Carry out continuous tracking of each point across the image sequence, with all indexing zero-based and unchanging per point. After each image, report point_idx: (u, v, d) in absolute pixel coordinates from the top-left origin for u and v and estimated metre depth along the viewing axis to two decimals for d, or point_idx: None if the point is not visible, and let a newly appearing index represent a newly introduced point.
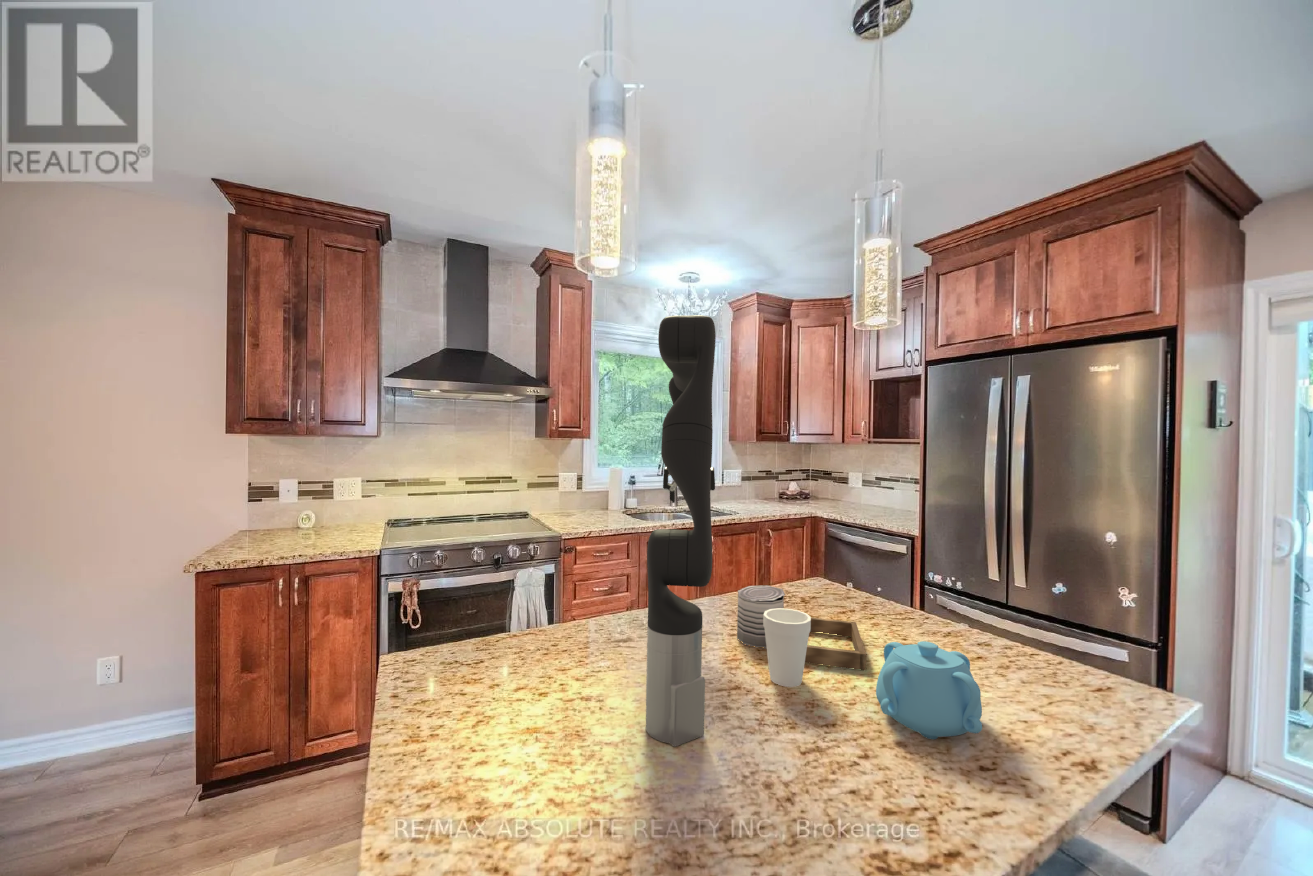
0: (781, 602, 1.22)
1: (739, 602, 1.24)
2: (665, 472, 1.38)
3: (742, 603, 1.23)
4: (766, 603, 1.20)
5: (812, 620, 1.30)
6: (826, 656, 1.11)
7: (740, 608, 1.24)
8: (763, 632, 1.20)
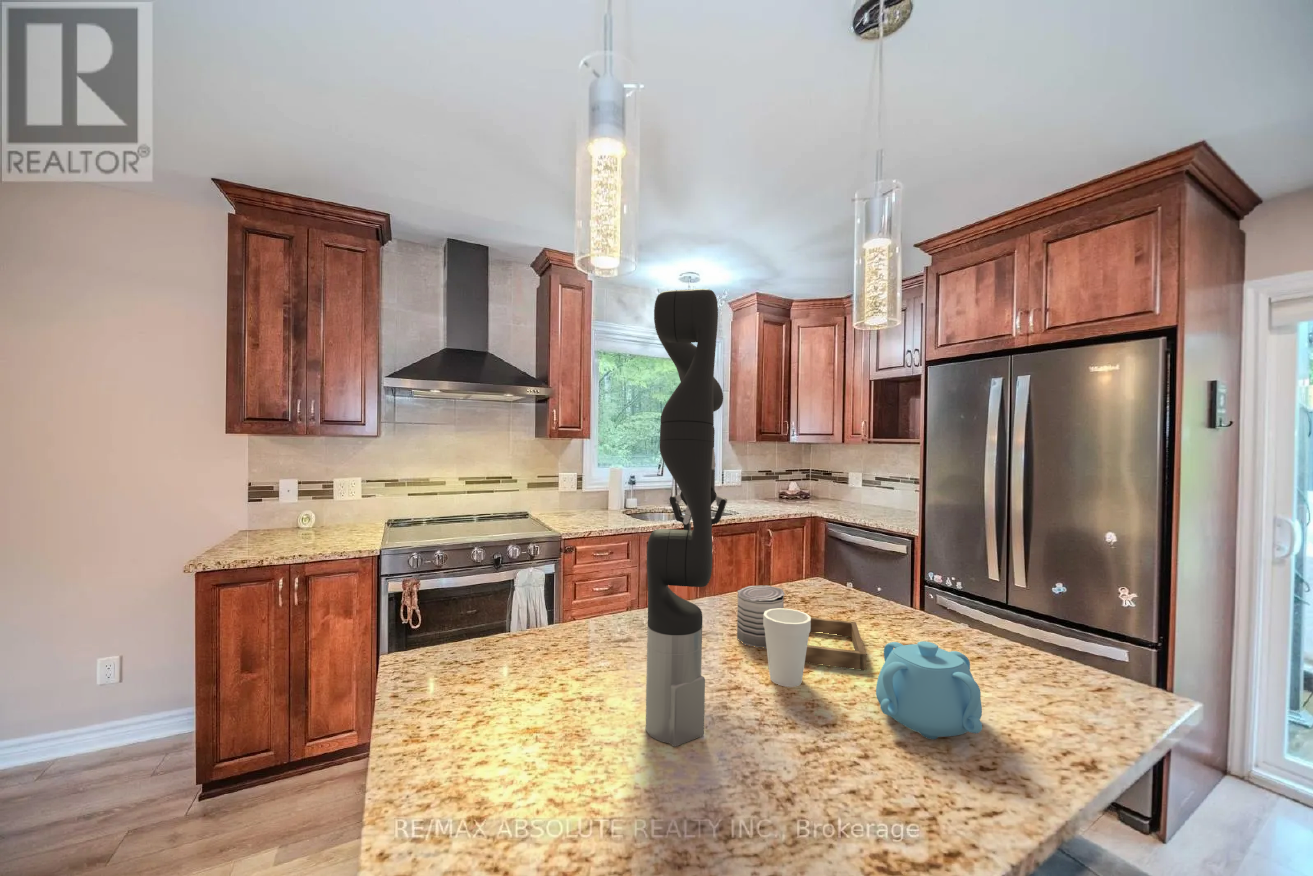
0: (781, 602, 1.22)
1: (739, 602, 1.24)
2: (671, 500, 1.20)
3: (742, 603, 1.23)
4: (766, 603, 1.20)
5: (812, 620, 1.30)
6: (826, 656, 1.11)
7: (740, 608, 1.24)
8: (763, 632, 1.20)
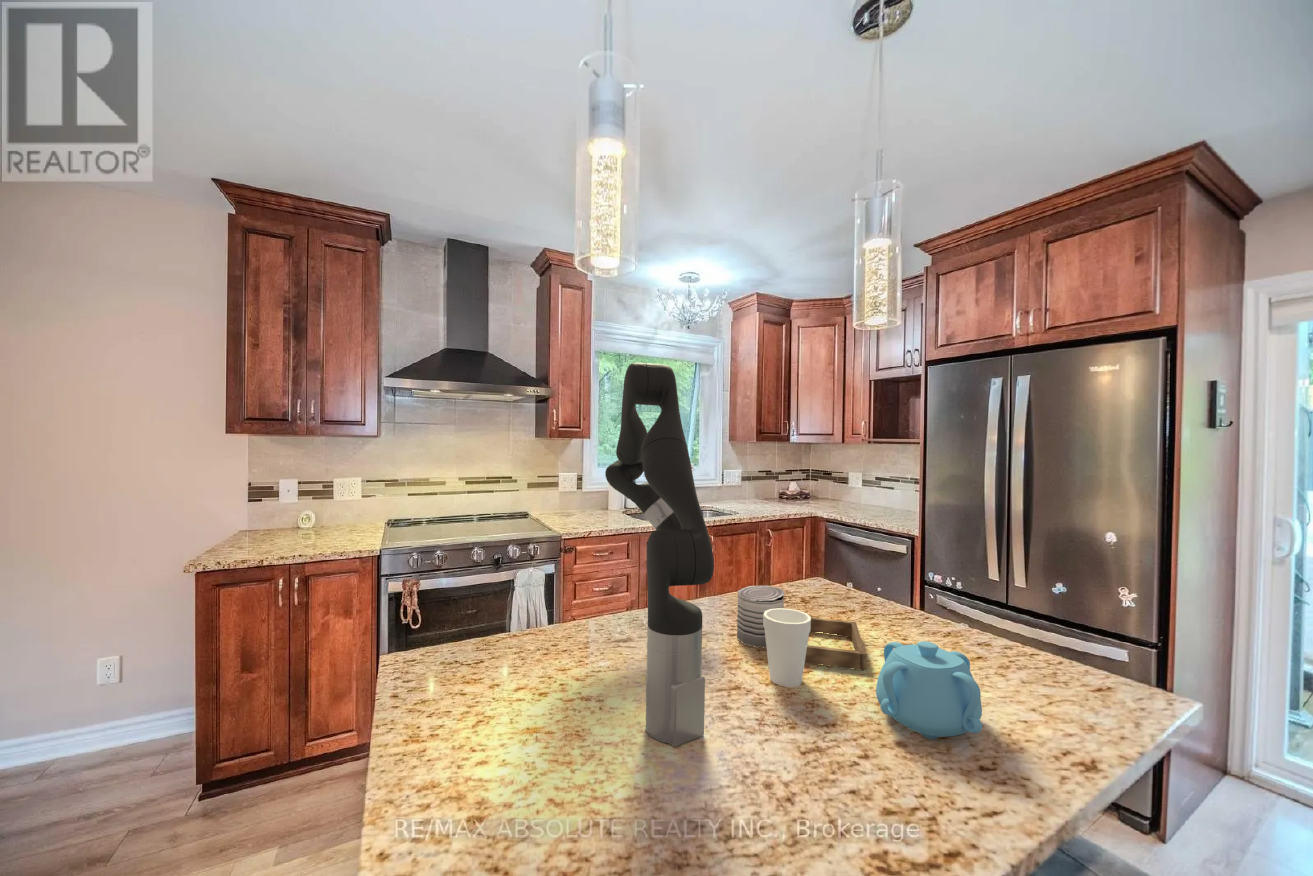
0: (781, 602, 1.22)
1: (739, 602, 1.24)
2: None
3: (742, 603, 1.23)
4: (766, 603, 1.20)
5: (812, 620, 1.30)
6: (826, 656, 1.11)
7: (740, 608, 1.24)
8: (763, 632, 1.20)
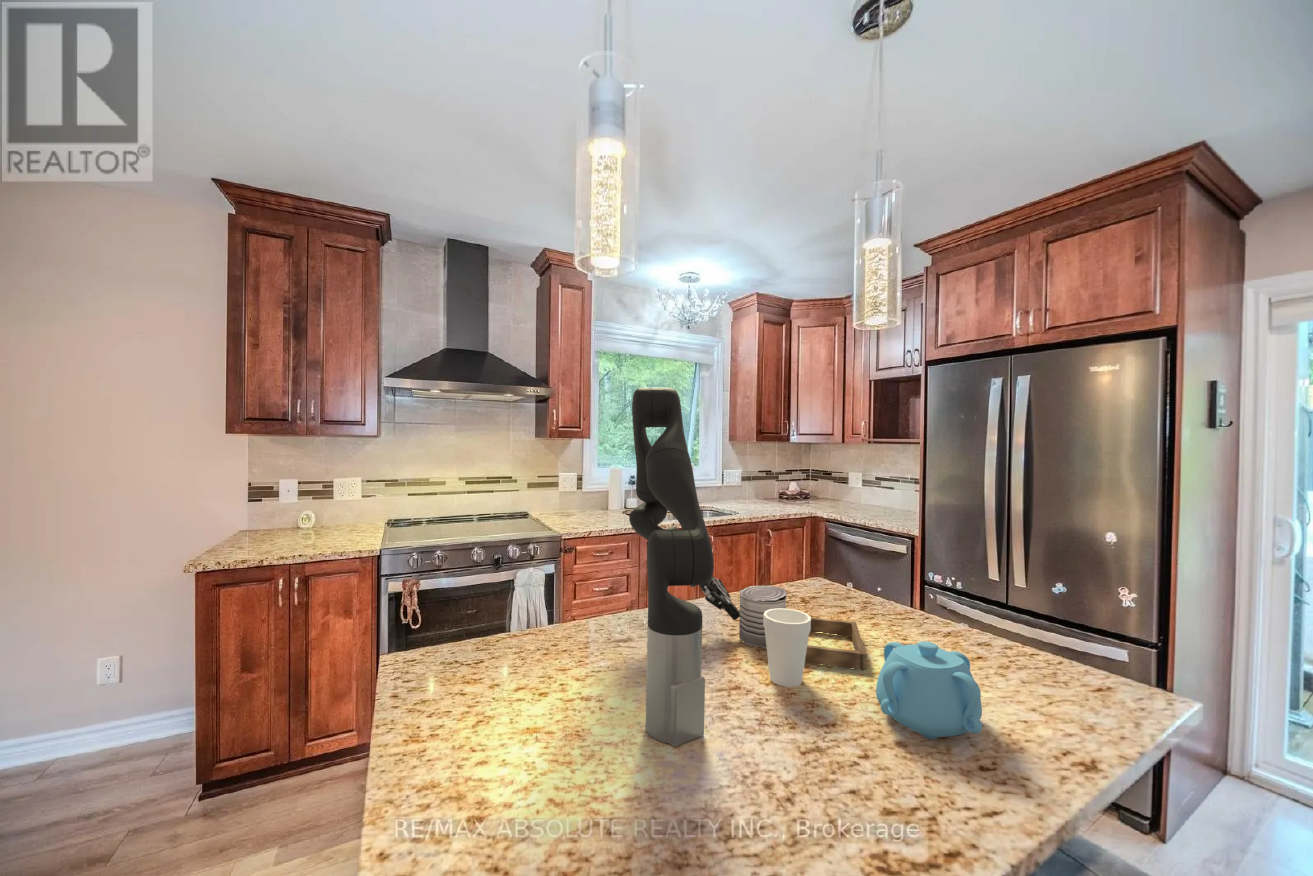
0: (783, 602, 1.22)
1: (741, 602, 1.24)
2: (715, 593, 1.23)
3: (744, 603, 1.23)
4: (768, 603, 1.20)
5: (812, 620, 1.30)
6: (826, 656, 1.11)
7: (743, 608, 1.23)
8: None
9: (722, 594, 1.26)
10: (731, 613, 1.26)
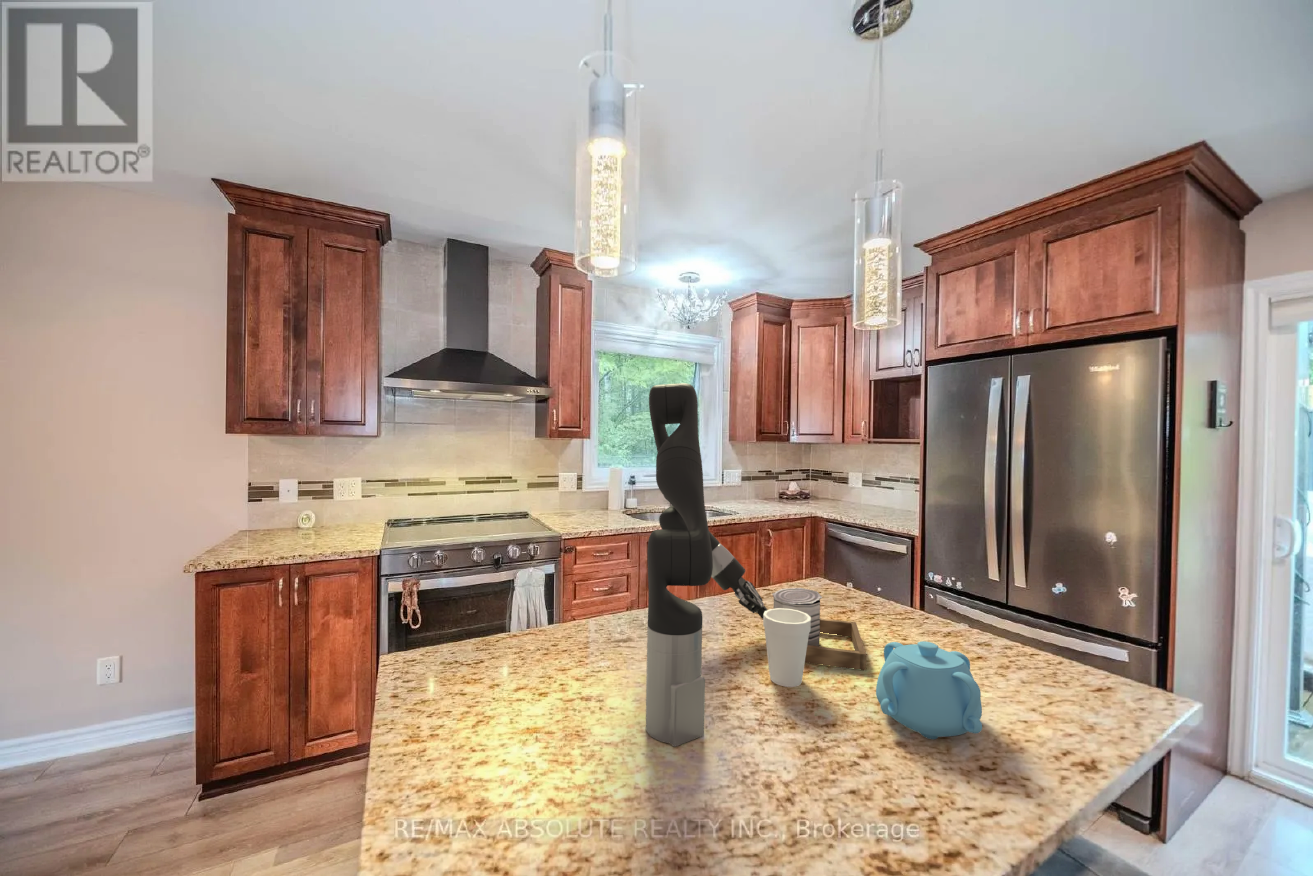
0: (819, 605, 1.20)
1: (775, 606, 1.22)
2: (748, 597, 1.21)
3: (779, 607, 1.20)
4: (805, 606, 1.18)
5: None
6: (826, 656, 1.11)
7: None
8: None
9: (755, 597, 1.24)
10: None
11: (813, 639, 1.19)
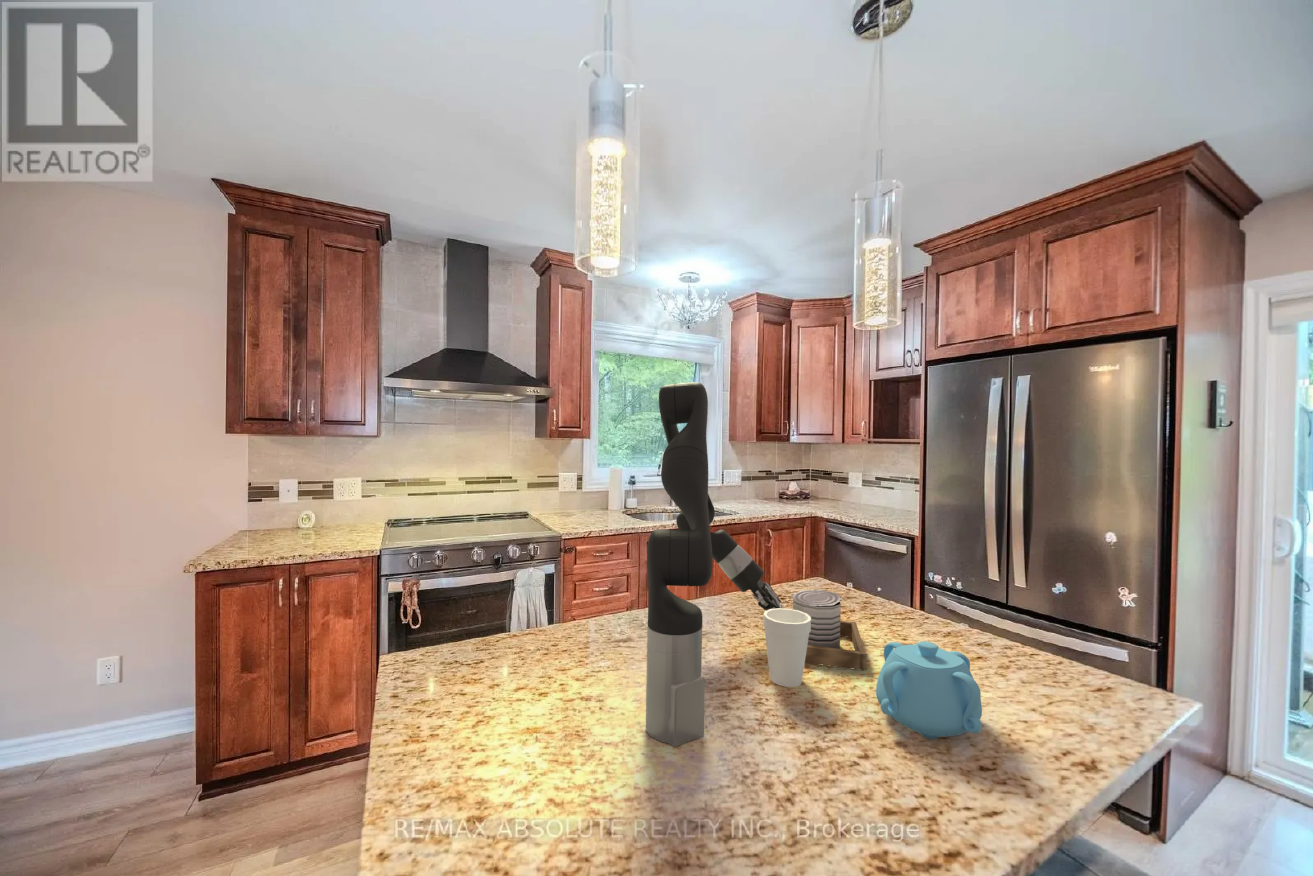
0: (839, 607, 1.19)
1: (795, 608, 1.21)
2: (768, 599, 1.19)
3: (800, 609, 1.19)
4: (826, 608, 1.17)
5: None
6: (826, 656, 1.11)
7: None
8: (823, 638, 1.17)
9: (774, 599, 1.23)
10: None
11: (834, 642, 1.17)
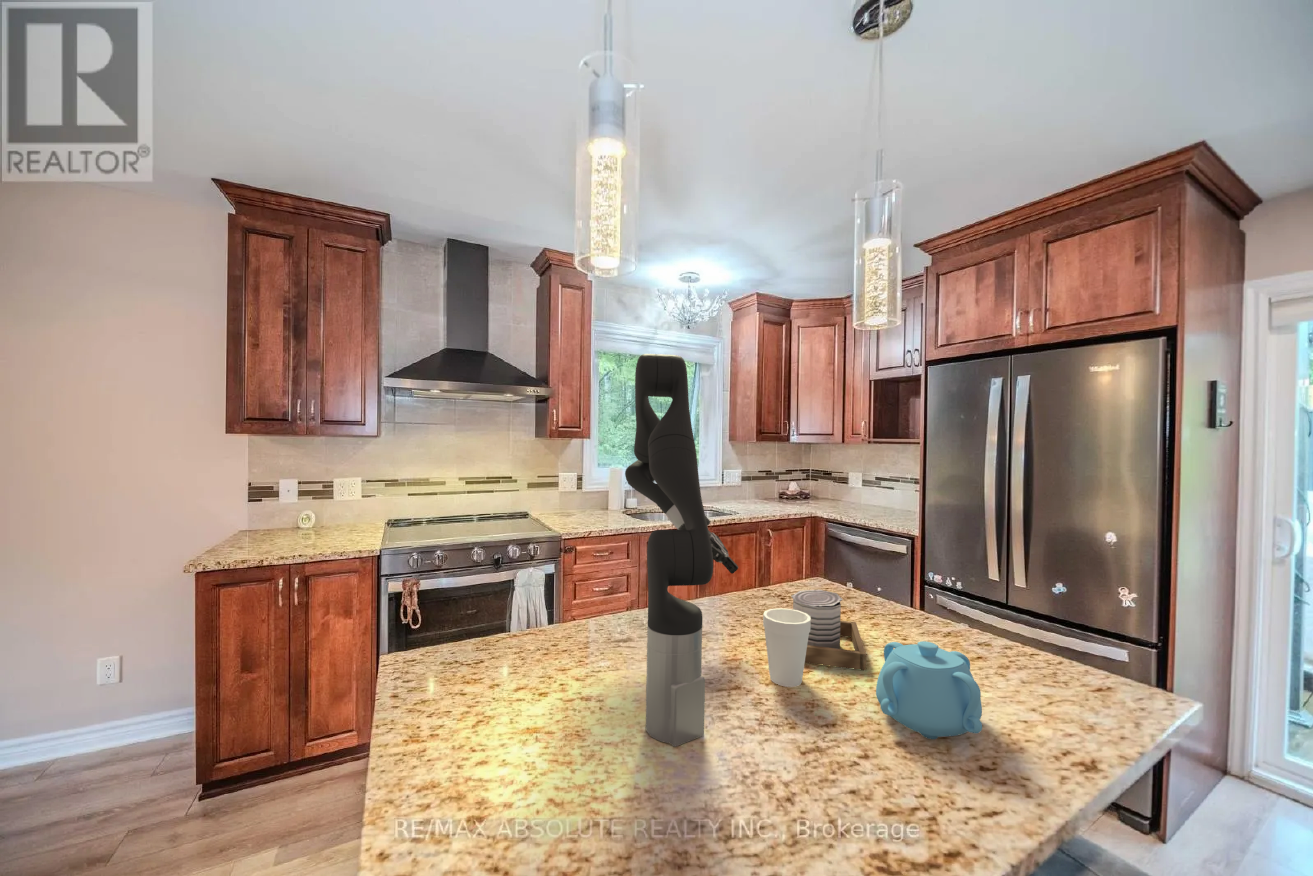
0: (839, 607, 1.19)
1: (795, 608, 1.21)
2: (711, 545, 1.22)
3: (800, 609, 1.19)
4: (826, 608, 1.17)
5: None
6: (826, 656, 1.11)
7: None
8: (823, 638, 1.17)
9: (719, 547, 1.25)
10: (728, 566, 1.25)
11: (834, 642, 1.17)
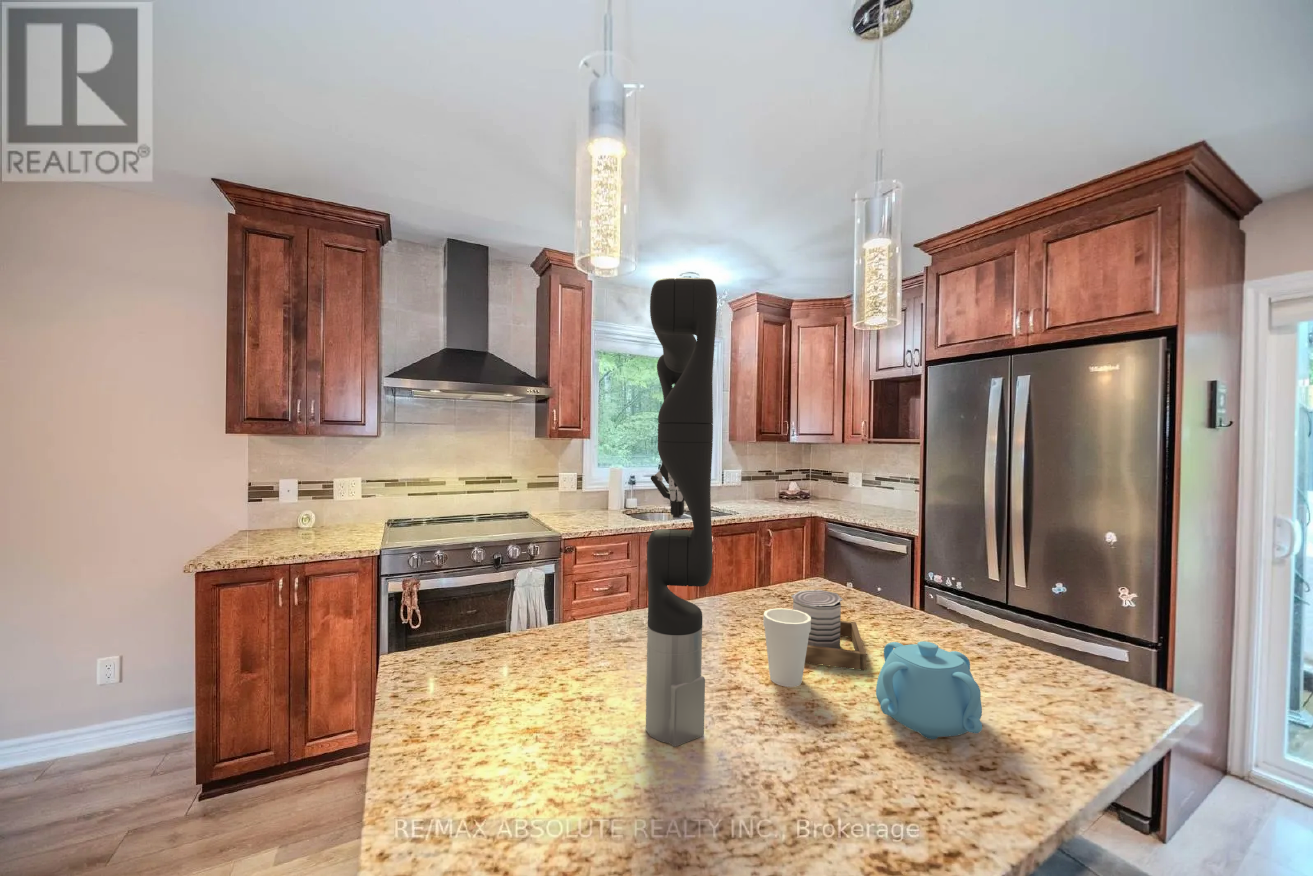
0: (839, 607, 1.19)
1: (795, 608, 1.21)
2: (653, 479, 1.16)
3: (800, 609, 1.19)
4: (826, 608, 1.17)
5: None
6: (826, 656, 1.11)
7: None
8: (823, 638, 1.17)
9: None
10: None
11: (834, 642, 1.17)
